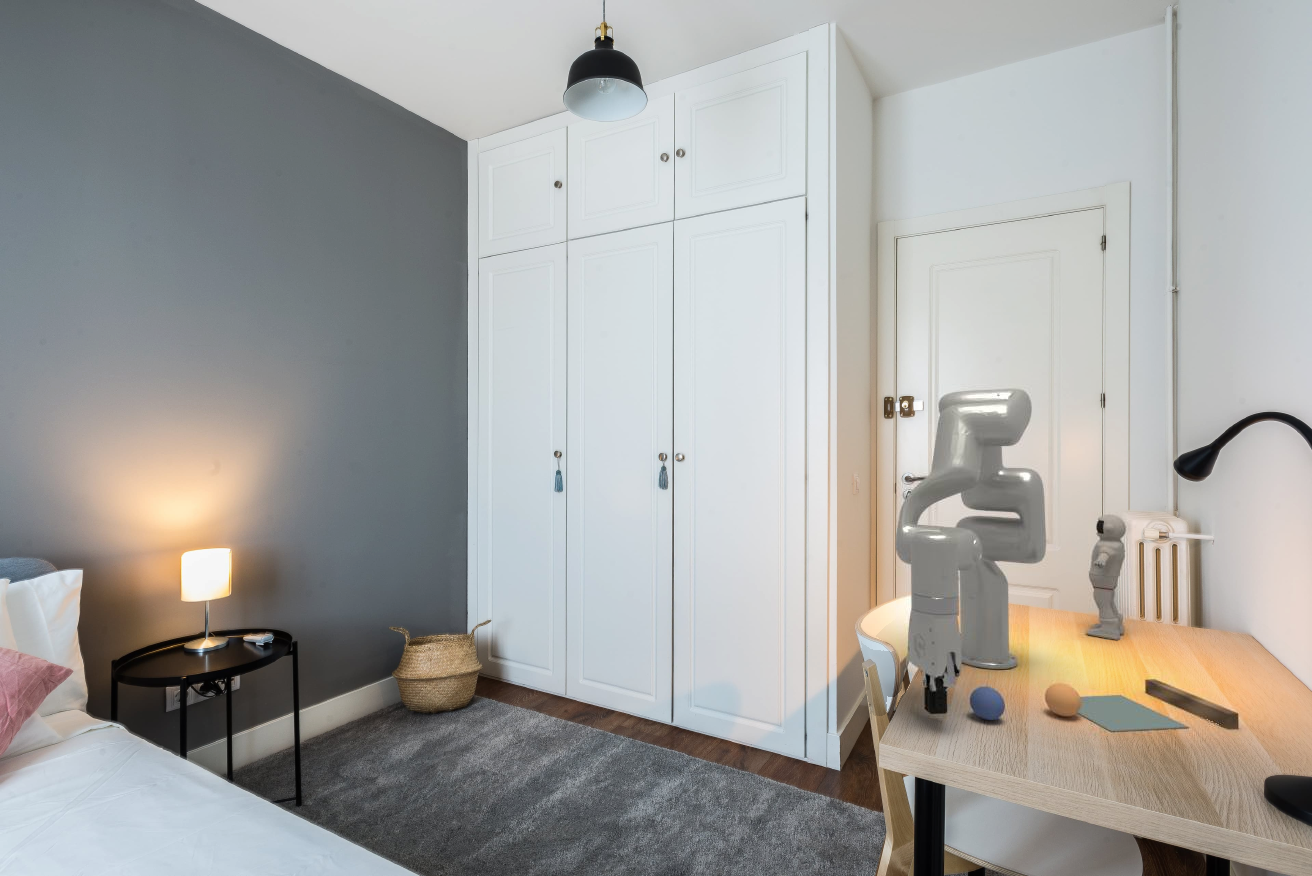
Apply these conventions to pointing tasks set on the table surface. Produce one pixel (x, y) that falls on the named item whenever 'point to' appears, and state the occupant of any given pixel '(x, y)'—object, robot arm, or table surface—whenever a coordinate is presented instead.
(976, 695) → the blue ball
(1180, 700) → the rail
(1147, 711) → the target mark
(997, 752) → the table surface
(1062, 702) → the orange ball
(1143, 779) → the table surface
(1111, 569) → the toy
